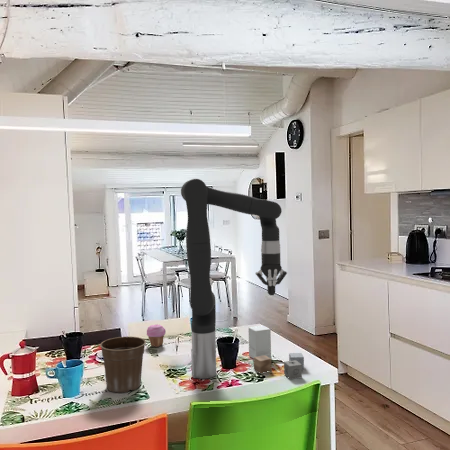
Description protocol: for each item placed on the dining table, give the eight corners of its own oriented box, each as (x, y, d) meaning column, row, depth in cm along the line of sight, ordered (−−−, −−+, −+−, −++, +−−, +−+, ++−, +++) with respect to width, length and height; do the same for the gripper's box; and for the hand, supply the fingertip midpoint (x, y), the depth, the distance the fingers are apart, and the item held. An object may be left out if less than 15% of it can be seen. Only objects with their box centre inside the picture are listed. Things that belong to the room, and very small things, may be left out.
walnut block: (260, 373, 170) (260, 361, 170) (254, 369, 174) (253, 357, 174) (271, 371, 172) (271, 358, 172) (264, 367, 177) (264, 355, 176)
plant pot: (150, 377, 168) (149, 335, 168) (142, 395, 152) (141, 349, 152) (108, 378, 168) (106, 336, 168) (95, 396, 152) (94, 350, 152)
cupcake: (160, 349, 201) (159, 327, 201) (143, 347, 204) (143, 326, 204) (168, 343, 210) (168, 322, 209) (152, 342, 213) (151, 321, 212)
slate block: (291, 369, 173) (291, 357, 173) (289, 365, 178) (289, 353, 178) (303, 369, 173) (303, 357, 173) (301, 365, 178) (301, 352, 178)
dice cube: (296, 372, 170) (295, 360, 170) (301, 377, 165) (301, 364, 165) (284, 374, 169) (284, 361, 168) (289, 379, 164) (289, 366, 164)
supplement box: (271, 358, 186) (271, 329, 186) (255, 361, 184) (255, 331, 183) (263, 353, 193) (263, 324, 193) (248, 355, 191) (247, 326, 190)
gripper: (257, 253, 170) (257, 297, 171) (289, 252, 173) (290, 295, 173) (252, 251, 178) (253, 294, 178) (283, 250, 180) (284, 292, 181)
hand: (271, 295), depth 176 cm, fingers closed
